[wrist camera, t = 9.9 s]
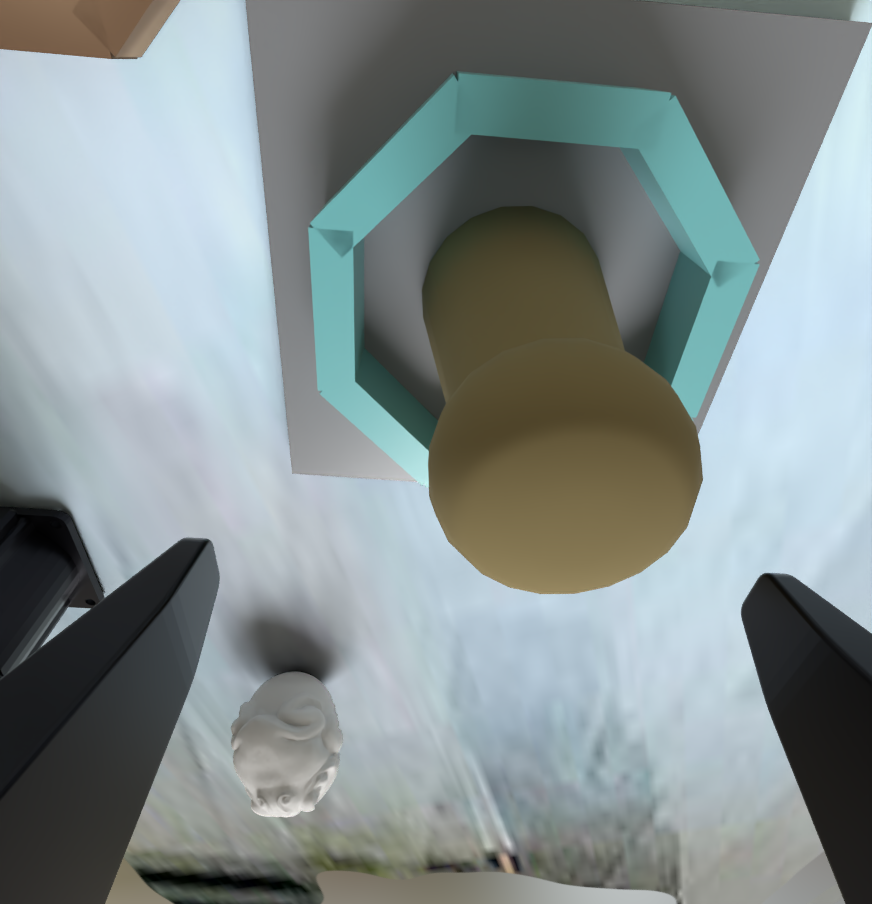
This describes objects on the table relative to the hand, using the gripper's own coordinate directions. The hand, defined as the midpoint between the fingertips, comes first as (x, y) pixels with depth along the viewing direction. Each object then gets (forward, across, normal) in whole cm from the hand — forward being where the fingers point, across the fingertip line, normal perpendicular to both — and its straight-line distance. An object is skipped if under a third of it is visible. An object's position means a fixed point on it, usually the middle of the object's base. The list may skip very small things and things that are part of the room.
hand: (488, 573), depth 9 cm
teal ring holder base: (+13, -2, 0) cm, 13 cm away
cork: (+12, -2, 0) cm, 12 cm away
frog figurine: (+13, +7, +25) cm, 29 cm away
